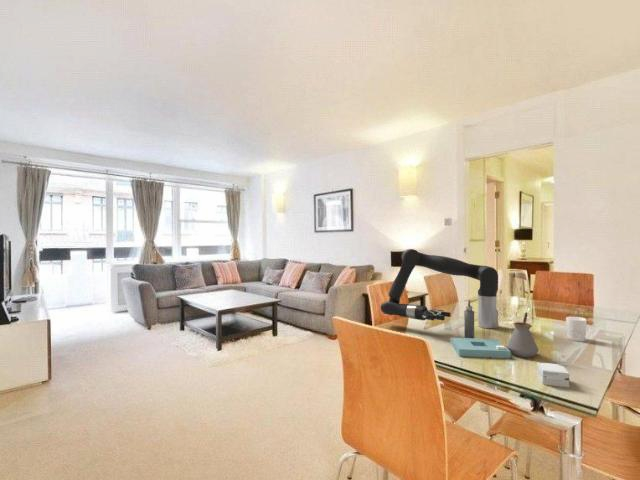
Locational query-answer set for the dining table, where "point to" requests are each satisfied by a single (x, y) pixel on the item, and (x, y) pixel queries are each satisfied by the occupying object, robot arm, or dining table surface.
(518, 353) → the coffee pot
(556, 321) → the dining table surface
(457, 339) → the socket plate
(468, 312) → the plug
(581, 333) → the white cup
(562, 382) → the small box
